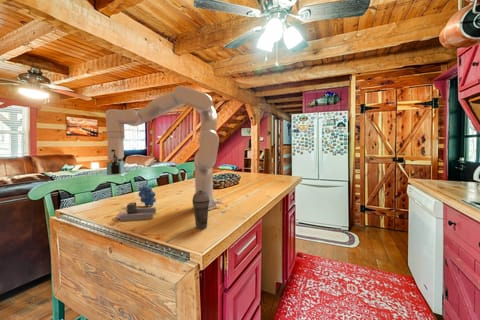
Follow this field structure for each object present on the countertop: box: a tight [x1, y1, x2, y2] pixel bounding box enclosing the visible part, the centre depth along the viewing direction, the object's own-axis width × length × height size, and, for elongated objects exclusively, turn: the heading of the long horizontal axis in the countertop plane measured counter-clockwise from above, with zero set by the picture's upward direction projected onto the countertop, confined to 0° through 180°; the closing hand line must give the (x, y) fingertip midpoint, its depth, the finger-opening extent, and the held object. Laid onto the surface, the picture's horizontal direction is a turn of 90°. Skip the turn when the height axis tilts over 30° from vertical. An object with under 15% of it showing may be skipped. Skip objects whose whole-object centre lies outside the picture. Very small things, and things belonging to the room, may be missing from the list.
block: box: [105, 160, 125, 176], centre depth 111 cm, size 6×6×6 cm
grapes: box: [138, 184, 157, 207], centre depth 128 cm, size 12×7×12 cm, turn 70°
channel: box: [120, 206, 157, 222], centre depth 111 cm, size 14×11×3 cm
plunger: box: [116, 201, 137, 220], centre depth 109 cm, size 8×5×6 cm, turn 102°
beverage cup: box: [192, 180, 210, 230], centre depth 96 cm, size 7×7×20 cm
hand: (117, 172), depth 111 cm, fingers closed on block, 6 cm apart
